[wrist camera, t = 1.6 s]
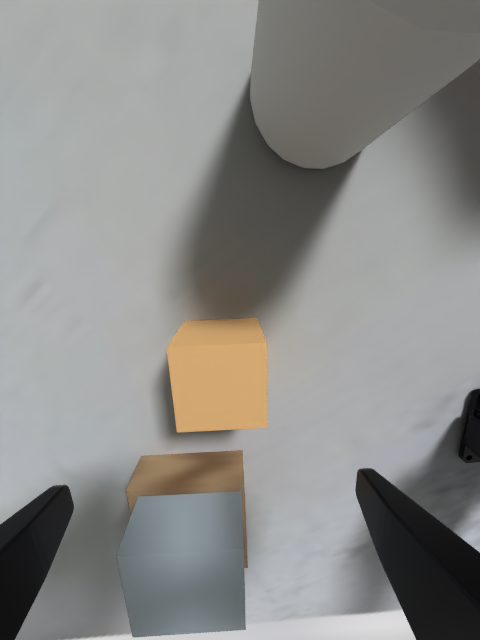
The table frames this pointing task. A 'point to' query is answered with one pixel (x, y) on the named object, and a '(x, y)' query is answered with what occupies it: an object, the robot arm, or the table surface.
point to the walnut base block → (189, 477)
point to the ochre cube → (219, 375)
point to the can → (352, 69)
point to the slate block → (184, 564)
